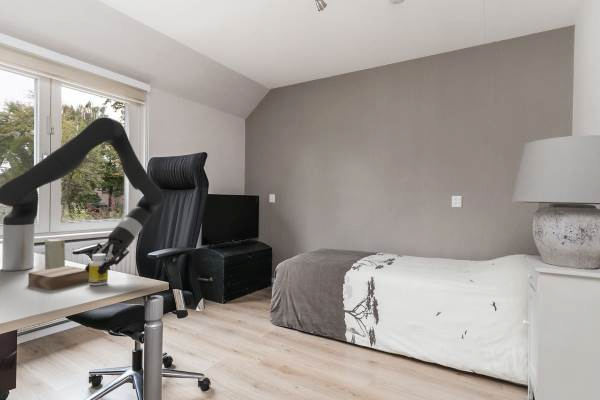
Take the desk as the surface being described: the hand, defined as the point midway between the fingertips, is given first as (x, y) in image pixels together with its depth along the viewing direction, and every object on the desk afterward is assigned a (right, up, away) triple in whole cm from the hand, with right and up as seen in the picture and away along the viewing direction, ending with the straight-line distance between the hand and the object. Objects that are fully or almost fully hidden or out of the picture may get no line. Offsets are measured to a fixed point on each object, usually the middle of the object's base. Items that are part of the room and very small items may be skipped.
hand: (93, 272), depth 109 cm
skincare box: (-24, -4, +15) cm, 29 cm away
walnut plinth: (-12, -4, +2) cm, 13 cm away
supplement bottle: (0, -4, +2) cm, 5 cm away
